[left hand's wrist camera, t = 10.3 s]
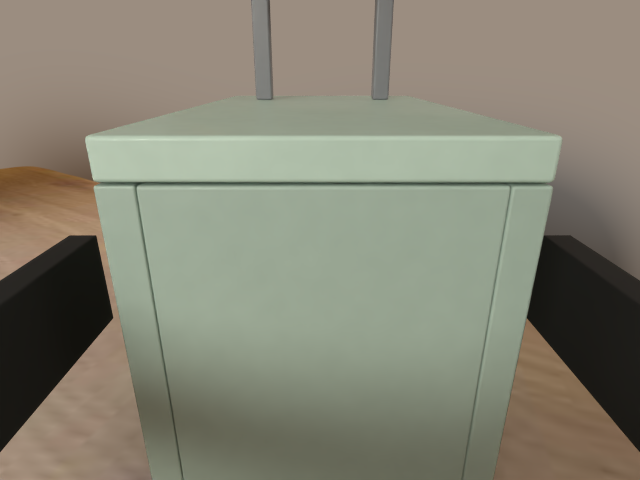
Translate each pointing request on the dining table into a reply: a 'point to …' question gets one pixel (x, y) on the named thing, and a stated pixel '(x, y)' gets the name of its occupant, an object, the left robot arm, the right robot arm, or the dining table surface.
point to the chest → (322, 323)
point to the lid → (323, 135)
